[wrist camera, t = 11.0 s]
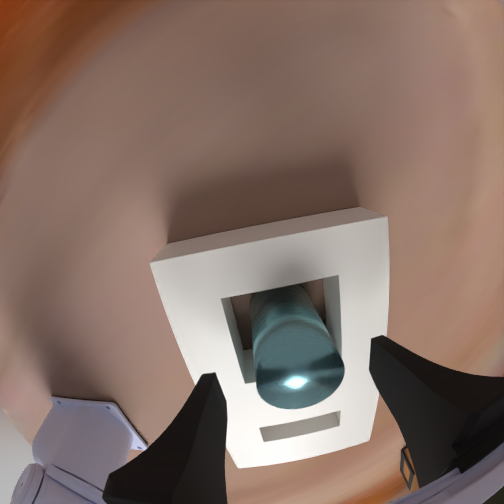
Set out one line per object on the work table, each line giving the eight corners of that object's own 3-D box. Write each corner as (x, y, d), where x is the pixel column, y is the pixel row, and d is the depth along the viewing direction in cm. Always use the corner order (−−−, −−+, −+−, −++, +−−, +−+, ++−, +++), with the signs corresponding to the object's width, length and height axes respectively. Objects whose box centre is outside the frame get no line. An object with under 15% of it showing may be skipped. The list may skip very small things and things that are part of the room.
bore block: (237, 440, 22) (238, 468, 18) (166, 243, 16) (149, 262, 13) (358, 415, 22) (369, 440, 18) (359, 206, 16) (387, 216, 12)
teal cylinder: (256, 338, 18) (265, 415, 12) (243, 287, 17) (247, 358, 10) (313, 325, 18) (345, 396, 11) (306, 273, 17) (344, 335, 10)
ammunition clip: (400, 449, 26) (429, 510, 14) (412, 443, 26) (442, 502, 14) (400, 470, 29) (421, 519, 17) (409, 465, 29) (432, 513, 17)
